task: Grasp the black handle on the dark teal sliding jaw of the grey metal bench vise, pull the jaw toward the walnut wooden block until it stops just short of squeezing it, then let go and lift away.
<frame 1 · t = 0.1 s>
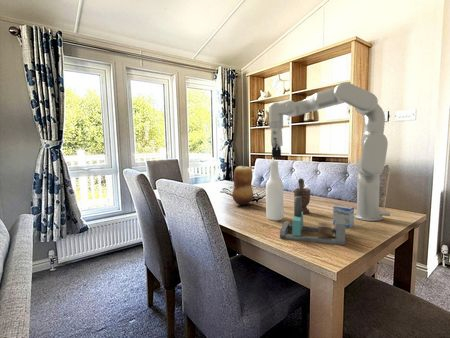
hand: (276, 156, 138), 31 cm above the table, tool pointing down, fingers open, 9 cm apart
medicine box: (343, 225, 115), on the table
brown bust statue: (303, 213, 136), on the table
alcohol: (274, 218, 129), on the table
butternut squash: (243, 205, 160), on the table
vise bed: (311, 235, 103), on the table
sliding jaw: (297, 213, 105), point 9 cm above the table, slide at 0.0 cm
walnut block: (324, 236, 101), resting in vise bed
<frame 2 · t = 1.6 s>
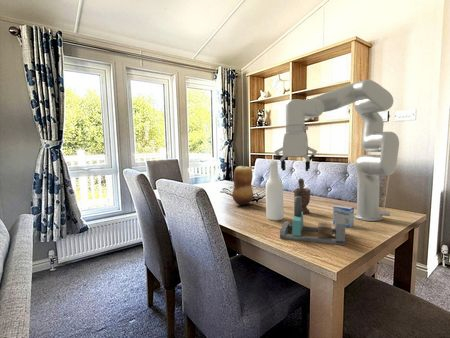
hand: (295, 170, 106), 27 cm above the table, tool pointing down, fingers open, 9 cm apart
nothing on the table moved.
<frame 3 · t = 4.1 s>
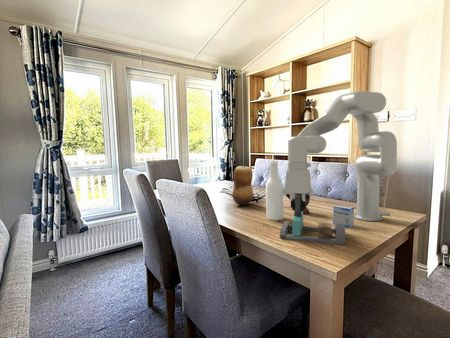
hand: (297, 209, 104), 11 cm above the table, tool pointing down, fingers closed on sliding jaw, 3 cm apart
sliding jaw: (297, 213, 105), point 9 cm above the table, slide at 0.0 cm, touching gripper
everything else where it was.
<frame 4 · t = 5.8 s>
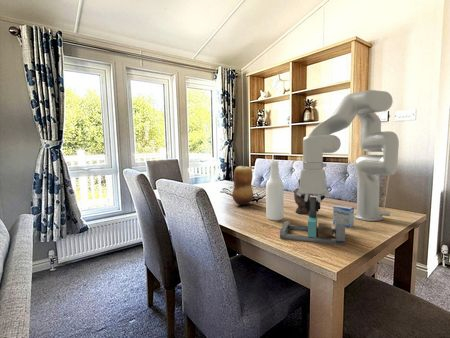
hand: (312, 210, 102), 11 cm above the table, tool pointing down, fingers closed on sliding jaw, 3 cm apart
sliding jaw: (312, 214, 102), point 9 cm above the table, slide at 5.9 cm, touching gripper
everything else where it was.
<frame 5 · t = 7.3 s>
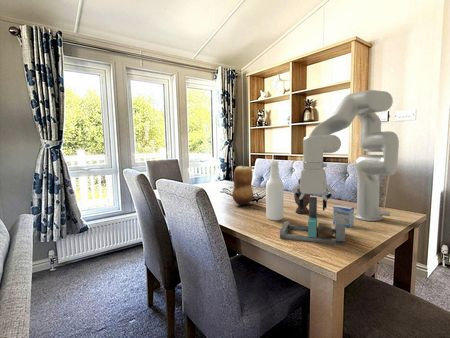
hand: (313, 208, 102), 11 cm above the table, tool pointing down, fingers open, 7 cm apart
sliding jaw: (312, 214, 102), point 9 cm above the table, slide at 6.0 cm
everything else where it was.
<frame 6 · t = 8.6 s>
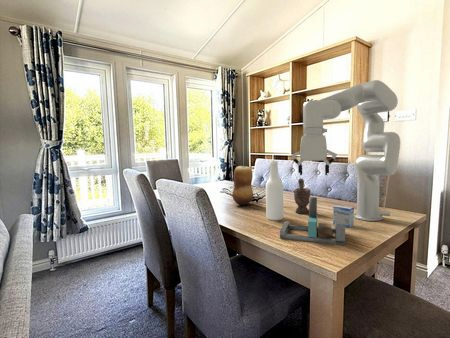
hand: (313, 174, 101), 25 cm above the table, tool pointing down, fingers open, 9 cm apart
nothing on the table moved.
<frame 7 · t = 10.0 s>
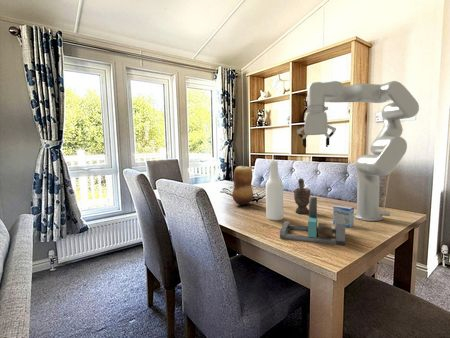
hand: (315, 147, 117), 36 cm above the table, tool pointing down, fingers open, 9 cm apart
nothing on the table moved.
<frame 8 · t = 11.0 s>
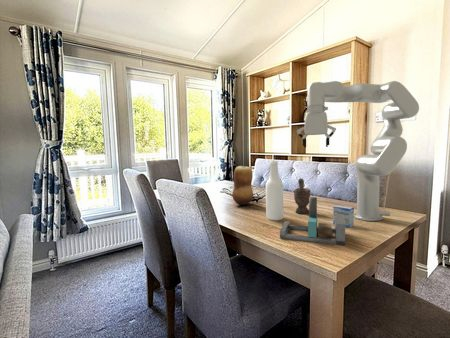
hand: (315, 147, 117), 36 cm above the table, tool pointing down, fingers open, 9 cm apart
nothing on the table moved.
at the end: sliding jaw slide at 6.0 cm; walnut block moved 0.1 cm from its start; the gripper is holding nothing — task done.
